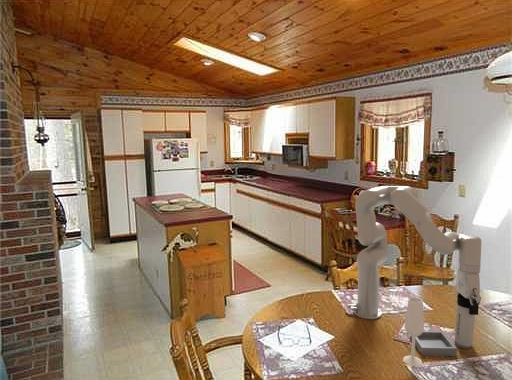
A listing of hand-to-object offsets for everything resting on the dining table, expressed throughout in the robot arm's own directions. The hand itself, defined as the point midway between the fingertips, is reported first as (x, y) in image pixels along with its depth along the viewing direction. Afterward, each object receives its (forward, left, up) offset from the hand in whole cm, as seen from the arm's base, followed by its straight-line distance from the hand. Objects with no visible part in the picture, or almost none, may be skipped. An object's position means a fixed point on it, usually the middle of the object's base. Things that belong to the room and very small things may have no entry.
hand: (467, 309), depth 152 cm
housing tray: (-13, -2, -15) cm, 20 cm away
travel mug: (0, 0, -15) cm, 15 cm away
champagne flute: (-25, -12, -15) cm, 31 cm away
